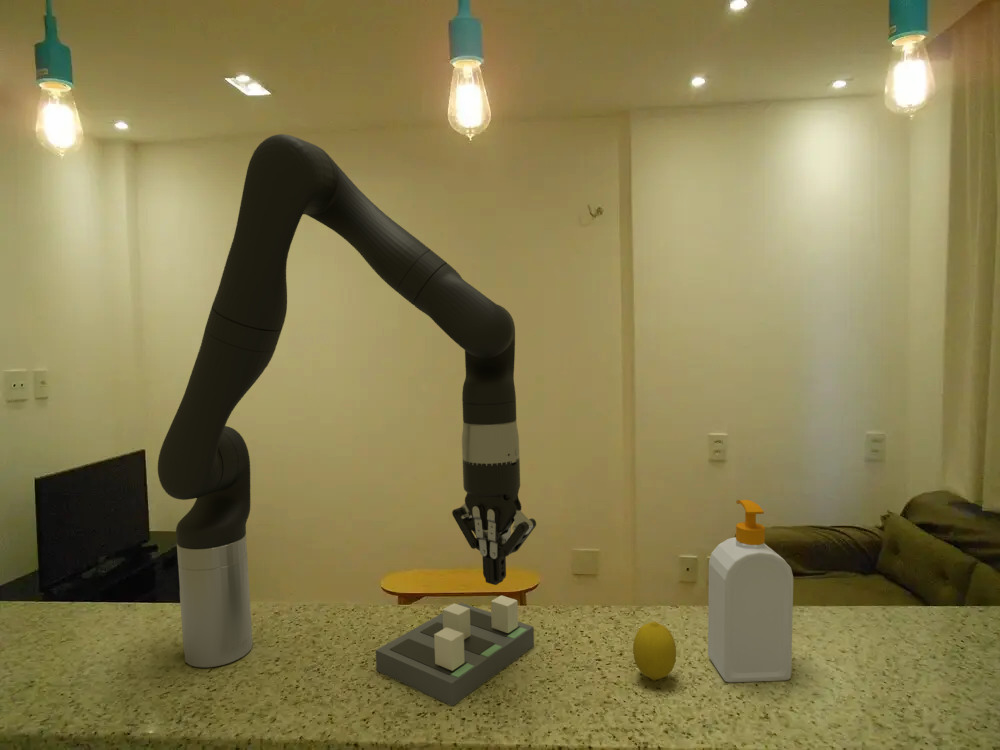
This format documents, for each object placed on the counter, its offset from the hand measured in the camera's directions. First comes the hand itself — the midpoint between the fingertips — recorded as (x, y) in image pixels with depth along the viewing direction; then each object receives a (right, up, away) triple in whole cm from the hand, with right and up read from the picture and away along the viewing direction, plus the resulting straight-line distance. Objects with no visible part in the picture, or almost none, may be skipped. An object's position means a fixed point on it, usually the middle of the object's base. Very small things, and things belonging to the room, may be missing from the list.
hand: (495, 582), depth 87 cm
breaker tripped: (-5, -9, +5) cm, 12 cm away
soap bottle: (+34, -12, +2) cm, 37 cm away
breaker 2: (+1, -9, +8) cm, 12 cm away
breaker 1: (-6, -10, -2) cm, 12 cm away
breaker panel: (-5, -13, +6) cm, 15 cm away
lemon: (+21, -13, -1) cm, 25 cm away
